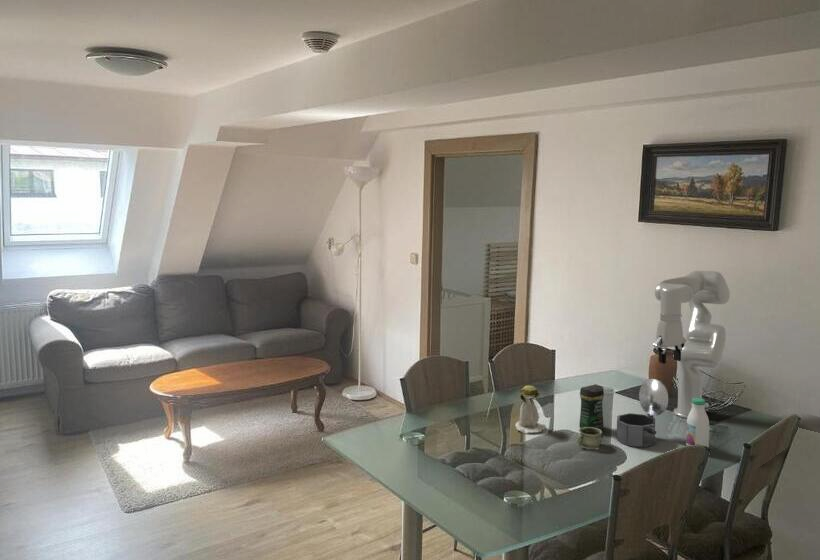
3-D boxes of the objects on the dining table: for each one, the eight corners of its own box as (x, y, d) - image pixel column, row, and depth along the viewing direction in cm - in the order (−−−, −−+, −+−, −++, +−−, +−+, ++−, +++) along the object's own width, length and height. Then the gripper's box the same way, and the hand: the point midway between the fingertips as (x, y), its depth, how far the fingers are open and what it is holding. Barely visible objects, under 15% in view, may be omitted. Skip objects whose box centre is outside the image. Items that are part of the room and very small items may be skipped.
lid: (636, 410, 254) (640, 410, 255) (663, 421, 241) (667, 421, 242) (641, 375, 253) (645, 375, 254) (669, 384, 240) (672, 384, 241)
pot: (634, 428, 258) (634, 409, 257) (670, 445, 240) (670, 424, 239) (604, 435, 253) (605, 415, 252) (640, 452, 235) (640, 431, 234)
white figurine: (511, 432, 260) (511, 389, 257) (519, 421, 271) (519, 381, 269) (540, 435, 255) (539, 392, 252) (547, 425, 266) (547, 383, 264)
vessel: (585, 453, 236) (585, 437, 236) (570, 444, 245) (570, 429, 244) (610, 447, 241) (610, 431, 240) (595, 439, 249) (595, 424, 248)
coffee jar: (590, 434, 254) (590, 390, 252) (576, 428, 261) (576, 385, 259) (607, 429, 259) (607, 385, 257) (592, 423, 266) (592, 381, 264)
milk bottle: (707, 447, 237) (708, 396, 235) (709, 455, 230) (711, 403, 227) (685, 445, 240) (686, 395, 237) (687, 453, 232) (688, 401, 230)
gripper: (679, 314, 253) (678, 356, 256) (646, 318, 247) (645, 362, 249) (694, 317, 247) (693, 360, 249) (660, 321, 240) (660, 366, 242)
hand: (669, 361), depth 249 cm, fingers open, 7 cm apart
